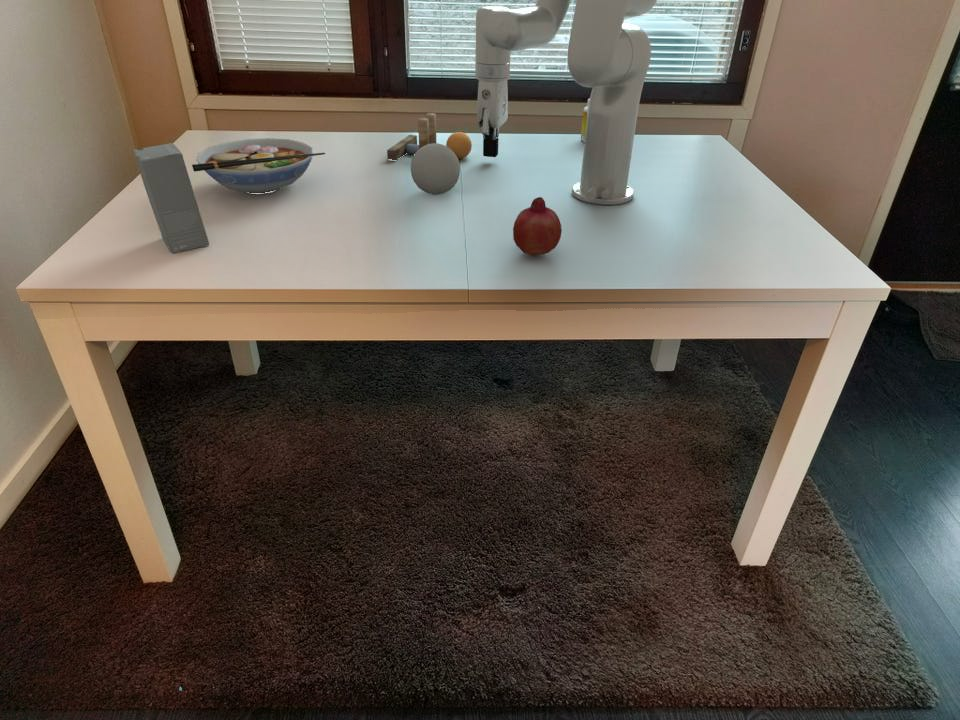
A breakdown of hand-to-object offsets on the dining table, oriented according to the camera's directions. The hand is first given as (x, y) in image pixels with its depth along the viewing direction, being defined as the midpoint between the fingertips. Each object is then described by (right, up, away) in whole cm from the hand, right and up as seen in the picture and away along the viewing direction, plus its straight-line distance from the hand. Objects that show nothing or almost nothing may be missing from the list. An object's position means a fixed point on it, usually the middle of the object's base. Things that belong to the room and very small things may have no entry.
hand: (490, 155), depth 150 cm
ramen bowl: (-48, -12, -16) cm, 52 cm away
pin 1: (-16, 0, +2) cm, 16 cm away
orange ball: (-7, +3, +1) cm, 8 cm away
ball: (-12, -13, -17) cm, 25 cm away
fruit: (+7, -30, -41) cm, 52 cm away
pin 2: (-14, +3, +6) cm, 16 cm away
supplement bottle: (+26, +9, +17) cm, 33 cm away
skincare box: (-54, -28, -39) cm, 72 cm away
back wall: (-21, +3, +6) cm, 22 cm away
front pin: (-11, +2, +3) cm, 12 cm away
